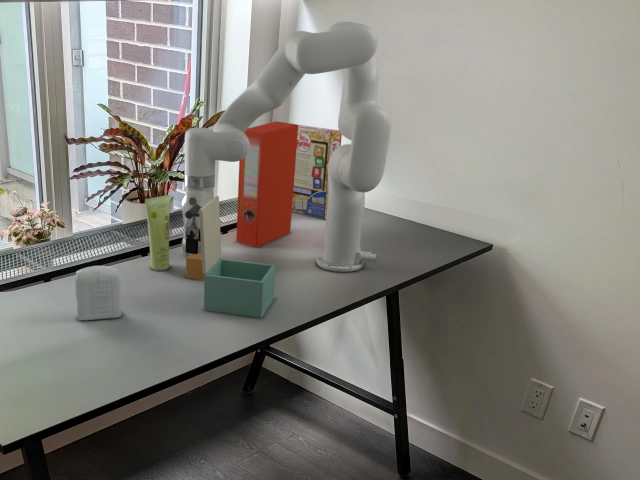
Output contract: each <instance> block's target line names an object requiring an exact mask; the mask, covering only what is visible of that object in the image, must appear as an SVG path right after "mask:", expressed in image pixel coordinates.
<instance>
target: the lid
mask: <svg viewBox="0 0 640 480" xmlns="http://www.w3.org/2000/svg"><path fill="white" fill-rule="evenodd" d="M198 212H199V213H198ZM220 213H221V212H220V196H219V195H214V198H213V199H212V200H210V201H209V202H208V203H207V204H206V205H204V206H203V207H200V206H199V205H198V204H196V205H194V206H193V207H192V208H191V209H189V210H188V211H187V212H186V213H185V217H186V218H187V219H191V218H192V217H200V234H201V252H202V270H203V273H207V272H208V270H209V269H210V268H211V267H212V266H213V265H214V264H215V263H216V262H217V261H218V260H219V259H222V258H221V257H222V240H221V215H220Z"/></svg>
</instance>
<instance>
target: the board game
mask: <svg viewBox="0 0 640 480" xmlns="http://www.w3.org/2000/svg"><path fill="white" fill-rule="evenodd" d="M297 125H298V136H297V149H296V163H295V176H294V189H293V202H292V213H298V214H301V215H306V216H311V217H315V218H319V219H323V220H326V215H327V205H328V187H329V186H328V162H329V159H330V156H331V154H332V153H333V151H334V150H335V149H337V148H338V147H339V146H342V137H343V135H342V134H341V133H340V131H339V129H332V128H324V127H317V126H311V125H304V124H297Z"/></svg>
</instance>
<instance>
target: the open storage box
mask: <svg viewBox="0 0 640 480" xmlns="http://www.w3.org/2000/svg"><path fill="white" fill-rule="evenodd" d="M276 267H277V266H276V264H269V263H261V262H253V261H244V260H236V259H227V258H220V259H219V260H218V261H217V262H216V263H215V264H214V265H213V266H212V268H211V269H210V270H209V271H208V272H207V273H206V274H205V275H204V280H203V311H208V312H216V313H223V314H231V315H236V316H237V315H238V316H245V317H250V318H251V317H252V318H259V319H262V318H263V316H265V313H266V312H267V310H268V309H269V307H270V305H271V304H272V302H273V301H274V300H275V288H276V287H275V285H276V269H277V268H276Z"/></svg>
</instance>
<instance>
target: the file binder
mask: <svg viewBox="0 0 640 480" xmlns="http://www.w3.org/2000/svg"><path fill="white" fill-rule="evenodd" d="M298 125H299V124H296V123H289V122H283V121H277V120H276V121H272V122H269V123H264V124H260V125H256V126H253V127H249V128H248V129H247V130H246V131H245V133H244V134H245V135H246V136H247V138H248V140H249V143H250V149H249V152H248V154H247V155H246V157H245V158H243V159H242V160H240V161H238V187H237V211H236V212H237V214H236V240H235V241H236V242H237V243H239V244H242V245H246V246H250V247H254V248H259V247H262V246H264V245H266V244H268V243H271V242H273V241H275V240H277V239H280V238H281V237H284V236H286V235H289V234H290V233H291V227H292V216H293V215H292V213H293V212H292V202H293V189H294V176H295V163H296V149H297V136H298Z"/></svg>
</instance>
